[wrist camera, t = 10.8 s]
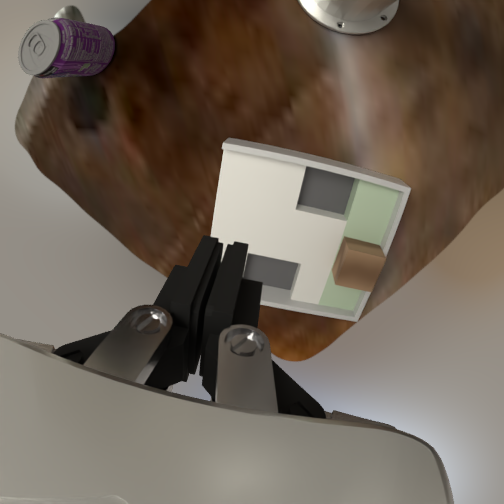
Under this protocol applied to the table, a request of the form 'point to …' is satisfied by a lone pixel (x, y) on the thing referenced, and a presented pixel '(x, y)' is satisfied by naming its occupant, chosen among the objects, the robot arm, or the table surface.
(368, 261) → the walnut block
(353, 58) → the table surface
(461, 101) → the table surface
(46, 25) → the beverage can
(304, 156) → the box
